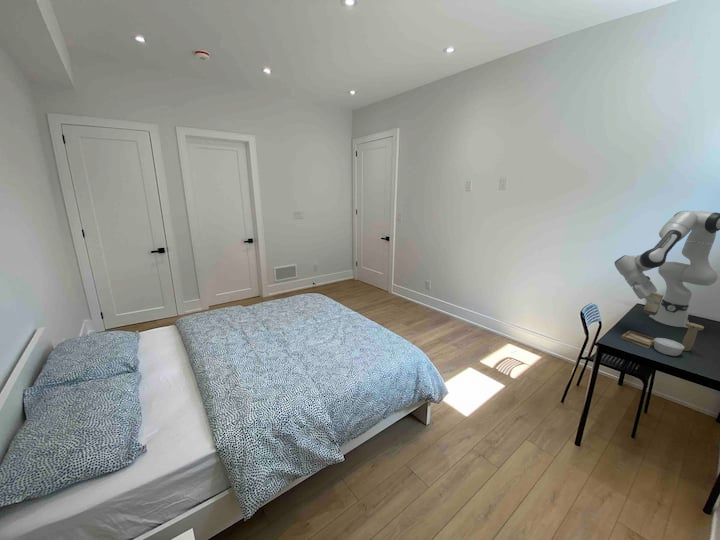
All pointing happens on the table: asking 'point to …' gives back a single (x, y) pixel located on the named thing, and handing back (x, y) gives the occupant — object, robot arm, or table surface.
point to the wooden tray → (638, 339)
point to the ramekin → (668, 346)
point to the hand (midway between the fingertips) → (655, 302)
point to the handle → (691, 335)
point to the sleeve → (653, 308)
